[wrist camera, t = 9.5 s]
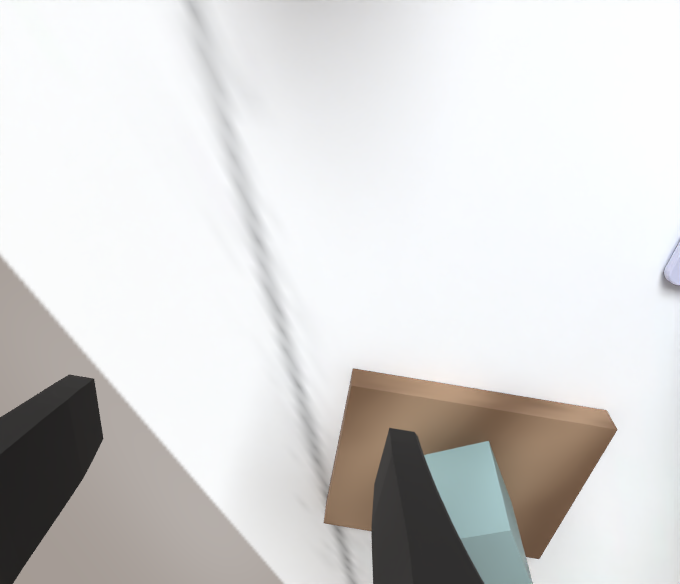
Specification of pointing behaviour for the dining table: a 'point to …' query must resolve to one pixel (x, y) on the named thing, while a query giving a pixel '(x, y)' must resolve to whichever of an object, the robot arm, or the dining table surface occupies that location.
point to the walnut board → (466, 429)
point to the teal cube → (481, 511)
